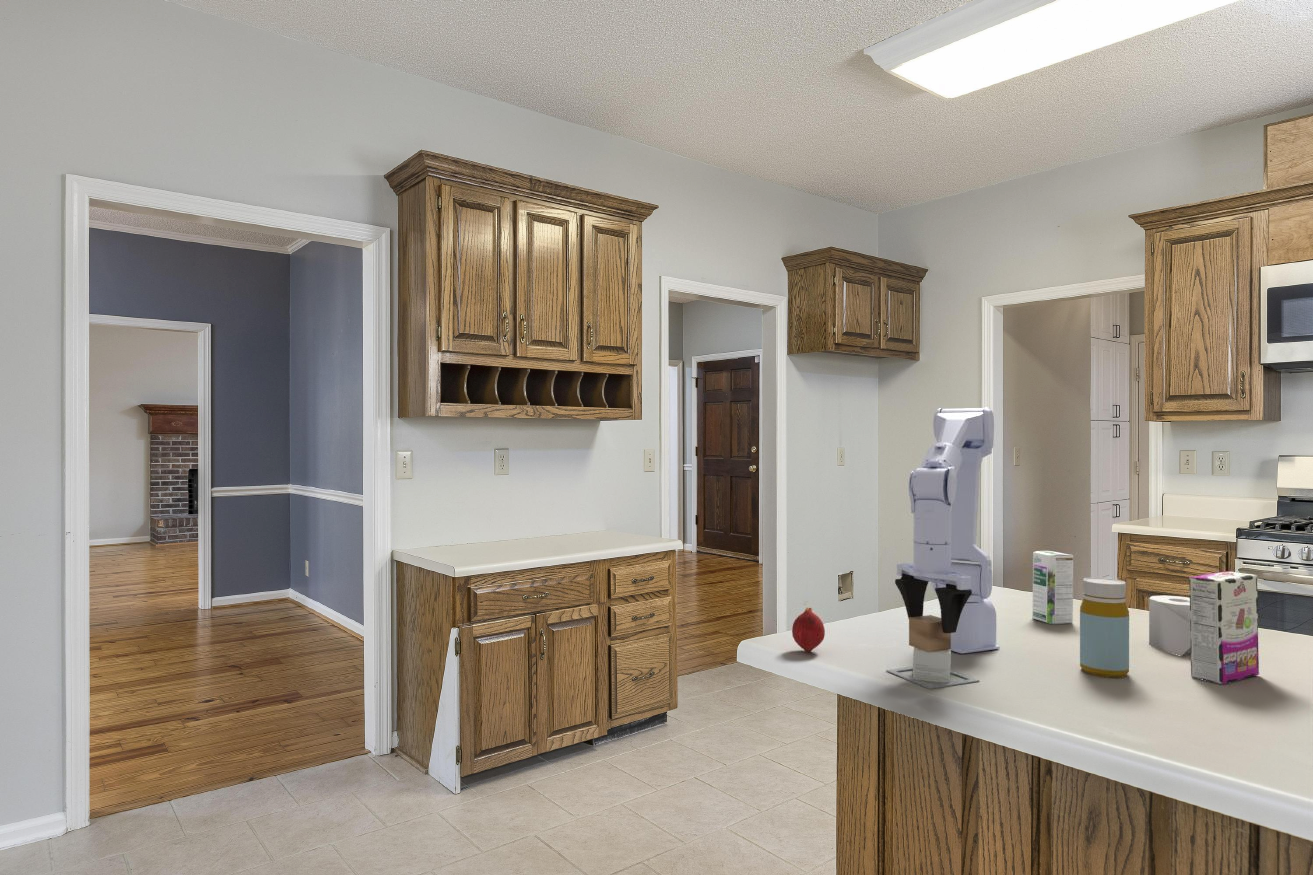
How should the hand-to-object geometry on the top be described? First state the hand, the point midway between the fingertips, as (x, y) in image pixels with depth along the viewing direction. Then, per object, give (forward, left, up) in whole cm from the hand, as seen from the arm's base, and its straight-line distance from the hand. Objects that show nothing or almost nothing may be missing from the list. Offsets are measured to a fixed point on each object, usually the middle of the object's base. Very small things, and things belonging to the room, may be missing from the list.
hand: (931, 627), depth 126 cm
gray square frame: (0, 0, -8) cm, 8 cm away
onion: (+10, -20, -8) cm, 24 cm away
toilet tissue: (-55, +4, -8) cm, 56 cm away
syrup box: (-52, -21, -8) cm, 57 cm away
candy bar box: (-44, +18, -8) cm, 48 cm away
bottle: (-28, +9, -8) cm, 31 cm away
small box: (0, 0, -8) cm, 8 cm away
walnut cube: (0, 0, -3) cm, 3 cm away
